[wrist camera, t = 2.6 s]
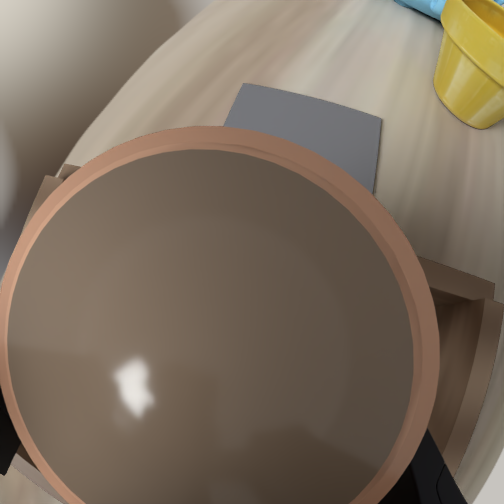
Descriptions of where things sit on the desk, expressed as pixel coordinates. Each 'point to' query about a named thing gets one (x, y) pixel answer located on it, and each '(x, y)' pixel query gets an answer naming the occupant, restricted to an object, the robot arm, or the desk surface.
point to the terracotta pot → (217, 328)
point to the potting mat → (312, 127)
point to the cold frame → (451, 352)
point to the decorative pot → (430, 6)
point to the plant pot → (472, 61)
